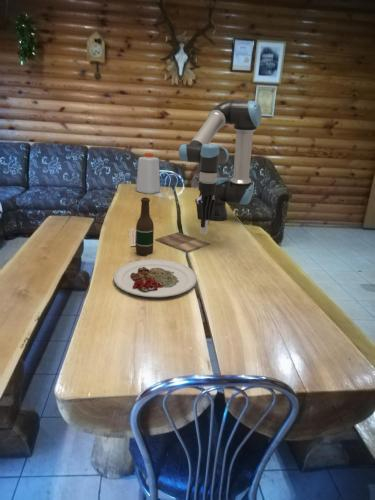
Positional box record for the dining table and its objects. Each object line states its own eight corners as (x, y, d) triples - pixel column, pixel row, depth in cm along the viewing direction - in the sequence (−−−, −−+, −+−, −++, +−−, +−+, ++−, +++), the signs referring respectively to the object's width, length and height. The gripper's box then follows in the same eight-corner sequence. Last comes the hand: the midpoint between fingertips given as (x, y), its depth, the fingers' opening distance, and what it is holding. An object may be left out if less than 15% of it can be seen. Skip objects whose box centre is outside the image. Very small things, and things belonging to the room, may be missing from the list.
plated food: (194, 264, 140) (194, 257, 139) (198, 302, 112) (199, 293, 111) (120, 261, 139) (120, 254, 137) (106, 299, 111) (106, 290, 110)
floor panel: (178, 234, 173) (178, 232, 173) (196, 240, 166) (196, 238, 165) (155, 241, 162) (155, 239, 161) (173, 248, 155) (173, 246, 154)
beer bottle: (156, 251, 151) (158, 197, 142) (148, 257, 144) (150, 201, 135) (140, 248, 153) (140, 195, 144) (132, 254, 146) (132, 198, 137)
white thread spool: (149, 195, 249) (150, 155, 239) (133, 191, 257) (133, 152, 246) (162, 191, 261) (163, 154, 251) (146, 188, 269) (147, 151, 258)
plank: (196, 241, 166) (196, 238, 165) (210, 245, 161) (210, 242, 160) (174, 249, 154) (174, 246, 154) (187, 253, 149) (187, 250, 149)
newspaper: (128, 232, 174) (128, 228, 174) (142, 232, 175) (142, 228, 175) (128, 249, 153) (128, 245, 152) (144, 249, 154) (144, 245, 153)
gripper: (210, 178, 155) (206, 228, 164) (191, 182, 145) (188, 234, 154) (223, 181, 150) (218, 232, 159) (205, 185, 141) (201, 239, 150)
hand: (203, 233), depth 157 cm, fingers closed
